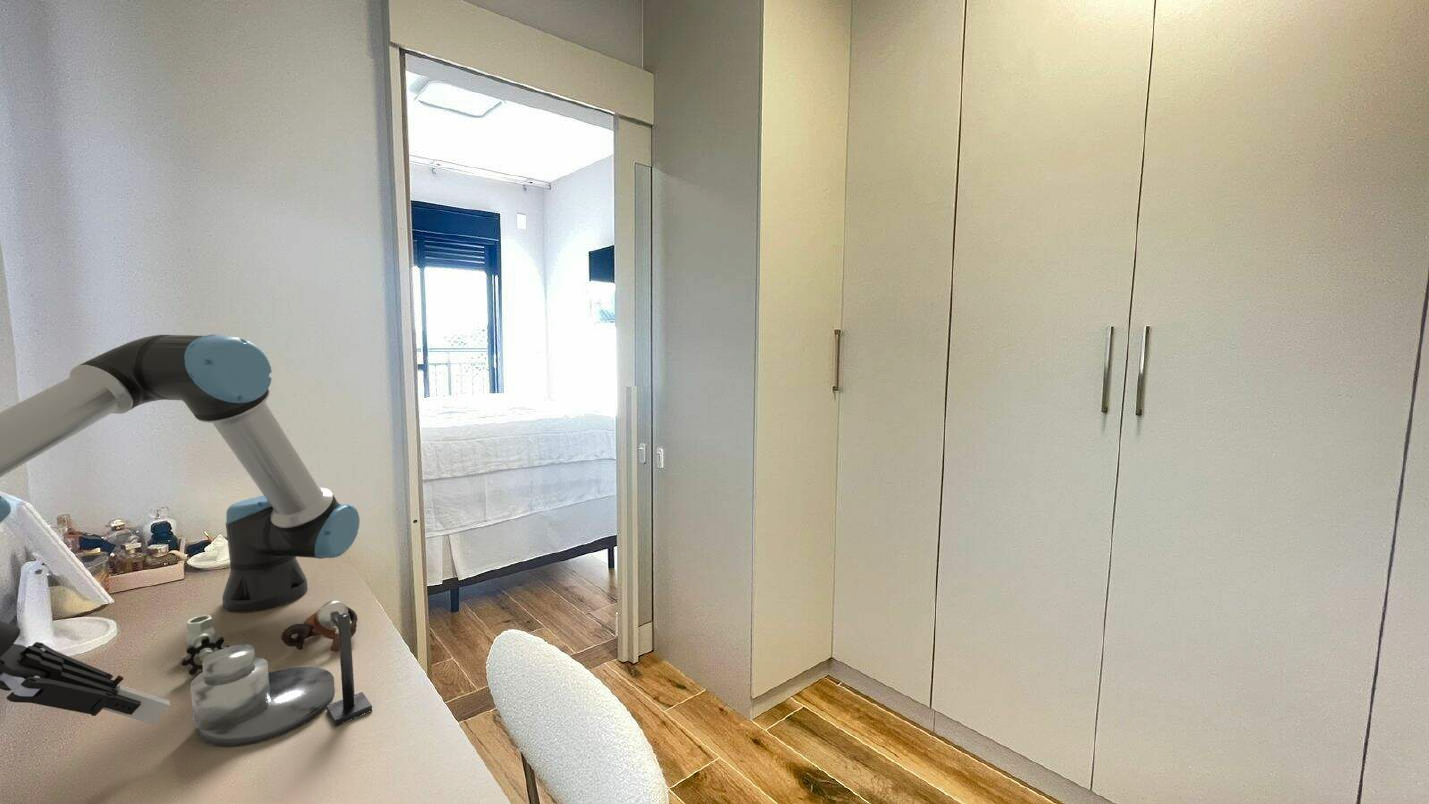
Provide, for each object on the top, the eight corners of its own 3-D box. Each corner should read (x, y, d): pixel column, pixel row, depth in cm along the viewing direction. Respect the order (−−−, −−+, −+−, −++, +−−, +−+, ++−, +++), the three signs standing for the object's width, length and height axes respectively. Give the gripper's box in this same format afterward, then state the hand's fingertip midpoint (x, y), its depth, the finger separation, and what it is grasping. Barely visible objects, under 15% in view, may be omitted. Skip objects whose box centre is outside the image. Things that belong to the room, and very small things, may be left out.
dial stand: (319, 698, 94) (313, 606, 92) (354, 685, 97) (348, 596, 96) (335, 726, 87) (328, 627, 85) (372, 711, 91) (366, 615, 89)
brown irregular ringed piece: (334, 629, 117) (351, 597, 116) (351, 663, 112) (370, 630, 111) (266, 640, 107) (284, 605, 106) (282, 678, 102) (301, 641, 101)
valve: (177, 655, 106) (182, 682, 98) (173, 621, 105) (179, 646, 97) (223, 642, 111) (232, 666, 103) (220, 609, 110) (229, 632, 102)
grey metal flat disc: (193, 709, 91) (192, 697, 90) (320, 666, 103) (319, 655, 103) (206, 765, 79) (205, 751, 79) (347, 708, 91) (347, 696, 91)
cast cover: (190, 710, 87) (185, 655, 86) (264, 685, 94) (260, 633, 93) (197, 739, 81) (191, 680, 80) (275, 710, 88) (271, 655, 87)
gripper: (-71, 655, 70) (135, 717, 84) (-97, 702, 61) (138, 762, 75) (-8, 600, 74) (180, 668, 87) (-24, 637, 65) (188, 707, 79)
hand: (160, 712), depth 81 cm, fingers closed
